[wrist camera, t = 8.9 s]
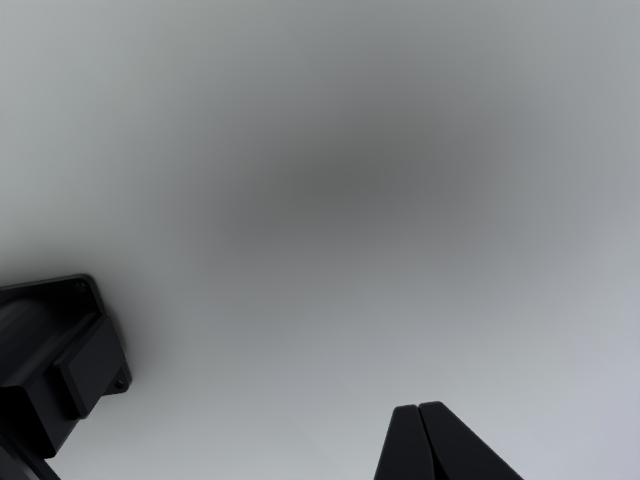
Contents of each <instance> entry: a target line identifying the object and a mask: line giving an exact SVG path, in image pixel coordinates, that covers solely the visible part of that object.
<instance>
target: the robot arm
mask: <svg viewBox="0 0 640 480" xmlns="http://www.w3.org/2000/svg"><path fill="white" fill-rule="evenodd" d="M79 283H82V284H84V286H85V289H83V288H81V287H80V286H79ZM118 381H121V382H122V383H123V384H120V383H118ZM131 382H132V380H131V376H130V374H129V371H128V368H127V366H126V363H125V355H124V353H123V350H122V347H121V345H120V342H119V339H118V337H117V334H116V332H115V329H114V326H113V324H112V321H111V319H110V317H109V316H108V315H107V314H106V311H105V309H104V306H103V304H102V301H101V298H100V296H99V293H98V291H97V288H96V285H95V283H94V281H93V279H92V278H91V277H89V276H88V275H85V274H79V275H73V276H67V277H61V278H55V279H48V280H42V281H36V282H30V283H24V284H18V285H12V286H6V287H0V480H61V479H60V478H59V477H58V475H57V474H56V473H55V472H54V471H53V470H52V468H51V467H50V466H49V465H48V464H47V463H46V461H45V460H44V459H49V458H53V457H55V455H56V454H57V452H58V451H59V449H60V448H61V446H62V445H63V443H64V442H65V441H66V439H67V438H68V436H69V435H70V433H71V432H72V430H73V429H74V427H75V426H76V424H77V423H78V421H79V420H82V419H86V418H87V417H88V415H89V414H90V412H91V411H92V409H93V408H94V406H95V405H96V403H97V402H98V400H99V399H100V397H101V396H105V395H111V394H118V393H123V392H126V391H127V390H128V388H129V387H130V385H131ZM374 480H524V479H523V478H522V477H521V476H520V475H519V474H517V473H516V472H515V471H514V470H513V469H512V468H511V467H510V466H509V465H508V464H507V463H506V462H505V461H504V460H503V459H502V458H500V457H499V456H498V455H497V454H496V453H495V452H494V451H493V450H492V449H491V448H490V447H489V446H488V445H487V444H486V443H485V442H483V441H482V440H481V439H480V438H479V437H478V436H477V435H476V434H475V433H474V432H473V431H472V430H471V429H470V428H469V427H468V426H466V425H465V424H464V423H463V422H462V421H461V420H460V419H459V418H458V417H457V416H456V415H455V414H454V413H453V412H452V411H451V410H449V409H448V408H447V407H446V406H445V405H444V404H443V403H442V402H440V401H434V402H427V403H421V404H419V406H418V407H417V406H416V405H414V404H412V405H405V406H398V407H396V408H395V409H394V411H393V414H392V417H391V421H390V424H389V428H388V431H387V435H386V438H385V442H384V445H383V449H382V452H381V456H380V459H379V462H378V466H377V469H376V473H375V476H374Z"/></svg>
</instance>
